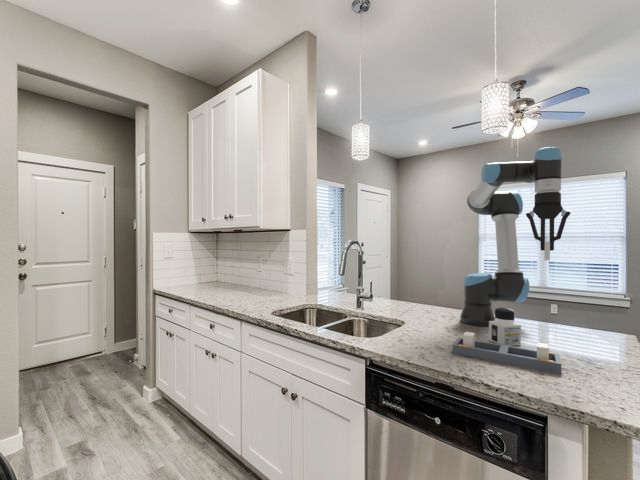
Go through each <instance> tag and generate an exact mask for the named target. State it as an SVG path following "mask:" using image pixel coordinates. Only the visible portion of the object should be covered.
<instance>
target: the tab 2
mask: <svg viewBox="0 0 640 480" xmlns="http://www.w3.org/2000/svg"><path fill="white" fill-rule="evenodd" d="M536 350H537V359H540V358H541V359H546V360H549V352H550V351H549V350H550V347H549V343H544V342H538V341H537V342H536Z"/></svg>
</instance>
